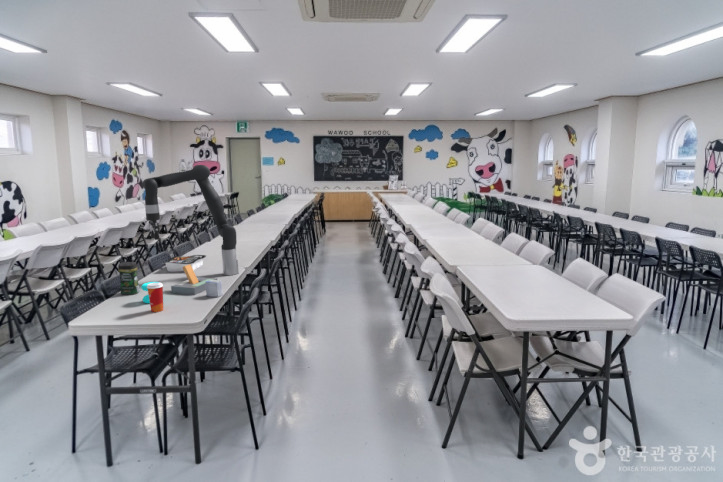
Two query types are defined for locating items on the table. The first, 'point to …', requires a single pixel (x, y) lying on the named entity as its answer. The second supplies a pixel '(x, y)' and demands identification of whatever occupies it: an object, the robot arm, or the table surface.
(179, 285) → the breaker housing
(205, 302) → the table surface
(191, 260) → the food packaging
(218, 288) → the medicine box
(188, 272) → the breaker lever
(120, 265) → the coffee jar
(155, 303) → the paper cup
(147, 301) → the donuts
